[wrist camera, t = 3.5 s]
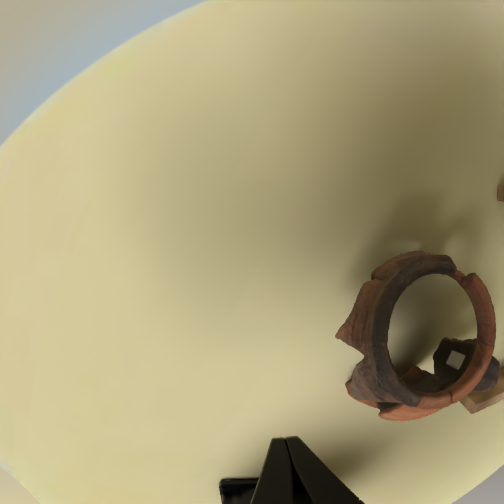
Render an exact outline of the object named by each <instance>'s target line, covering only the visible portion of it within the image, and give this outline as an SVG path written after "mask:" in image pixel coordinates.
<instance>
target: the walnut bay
mask: <svg viewBox="0 0 504 504" xmlns="http://www.w3.org/2000/svg"><path fill="white" fill-rule="evenodd" d="M498 200H499V201H504V187H503V186H498ZM502 399H504V367H503V368H501V369H500V375H499V378H498V383H497V385H496V386H495V387H494V388H493V389H491V390H490V391H485V392H481V391H471V392H470V393H469V394H467V395H466V396H465V397H464V398H462V399H461V400H460V402H461V403H462V404H463V405H464V407H465V408H466V409H467V410H468V411H469V412H470V413H471V414H473V413H475V412H478V411H480V410H482V409H484V408H486V407H488V406H490V405H492V404H495V403H497V402H499V401H501V400H502Z"/></svg>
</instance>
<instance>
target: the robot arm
mask: <svg viewBox="0 0 504 504" xmlns="http://www.w3.org/2000/svg"><path fill="white" fill-rule="evenodd" d="M219 489H220V495H221V500H222V504H365V503H364V502H363V501H361V500H359V498H358V497H357V496H356V495H355V494H354V493H353V492H352V491H351V490H350V489H349V488H348V487H347V486H346V485H345V484H344V483H343V482H342V481H341V480H339V479H338V478H337V477H336V476H335V475H334V474H333V473H332V472H331V471H330V469H329V468H328V467H327V466H326V465H325V464H324V463H323V462H322V461H321V460H320V459H319V458H318V457H317V456H316V455H315V454H314V453H313V452H312V451H311V450H310V449H309V448H308V447H307V446H306V444H305V443H304V442H303V441H302V440H301V439H300V438H299V437H298V436H291V437H286V438H283V437H280V438H273V439H272V440H271V442H270V446H269V449H268V452H267V455H266V459H265V462H264V465H263V468H262V471H261V474H260V477H259V480H238V481H221V482H219Z"/></svg>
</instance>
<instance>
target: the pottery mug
mask: <svg viewBox="0 0 504 504" xmlns="http://www.w3.org/2000/svg"><path fill="white" fill-rule="evenodd" d="M429 274H442V275H448V276H450V277H452V278H453V279H455V280H456V281H457V282H458V283H459V284H460V286H461V287H462V288H463V289H464V290H465V292H466V293H467V295H468V297H469V298H470V300H471V302H472V305H473V307H474V311H475V315H476V320H477V338H475V339H473V340H472V339H467V340H463V341H462V340H457V339H449V338H446V337H445V338H443V339H442V340H441V342H440V345H439V347H438V349H437V350H436V352H435V353H434V355H433V360H434V374H431V373H429V372H427V371H425V370H421V369H420V368H419V367H417V366H416V365H413V366H412V367H411V368H410V370H409V371H408V372H407V373H406V374H405V375H404V376H403V377H402V378H401V379H400V378H399V376H398V375H397V373H396V371H395V369H394V367H393V365H392V362H391V359H390V356H389V351H388V348H387V341H388V329H389V323H390V318H391V314H392V311H393V308H394V305H395V303H396V301H397V300H398V298H399V296H400V295H401V294H402V292H403V291H404V290H405V289H406V287H407V286H409V285H410V284H411V283H412V282H414V281H415V280H416V279H418V278H420V277H422V276H424V275H429ZM371 280H372V281H369V282H366V283H365V284H363V286H362V288H361V290H360V292H359V294H358V296H357V300H356V302H355V304H354V307H353V310H352V312H351V313H350V315H349V317H348V318H347V320H346V322H345V323H344V324H343V325H342V326H341V327H340V329H339V330H338V332H337V333H336V335H335V337H336V338H337V339H341V340H342V341H343V342H345V343H347V344H348V345H350V346H352V347H354V348H355V349H357V350H358V351H360V352H361V353H362V354H363V355H364V359H363V360H362V361H361V362H359V363H358V364H357V365H356V367H355V369H354V371H353V374H352V381H351V382H350V381H348V382H347V383H346V384H345V386H346V388H347V391H348V394H349V395H350V396H351V397H353V398H354V399H355V400H357V401H359V402H362V403H364V404H367V405H369V406H372V407H375V408H378V409H380V413H379V414H378V415H379V416H380V417H381V418H383V419H387V420H393V421H407V420H415V419H419V418H422V417H425V416H428V415H430V414H432V413H434V412H437V411H439V410H440V409H442V408H444V407H447V406H449V405H450V404H451V403H456V402H458V401H460V400H461V399H462V398H464V397H465V396H466V395H467V394H469V393H470V392H471V391H481V392H485V391H490V390H491V389H493V388H494V387H495V386H496V385H497V383H498V378H499V375H500V364H499V361H498V360H497V359H496V358H495V357H493V356H492V354H493V350H494V346H495V345H494V343H495V338H496V323H495V313H494V307H493V304H492V301H491V297H490V295H489V293H488V290H487V288H486V286H485V285H484V283H483V282H482V280H481V279H480V278H479V277H478V275H477V274H475V273H470V274H468V275H467V276H465V275H464V274H463V273H462V272H461V271H459V270H458V269H457V268H456V266H455V264H454V263H453V261H452V259H451V258H450V257H449V256H446V255H433V254H430V253H427V254H426V253H425V252H423V251H412V252H408V253H405V254H401V255H399V256H396V257H394V258H392V259H390V260H388V261H387V262H385V263H384V264H383V265H381V266H380V267H378V268H377V269H375V270H374V271H373V272H372V274H371Z"/></svg>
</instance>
